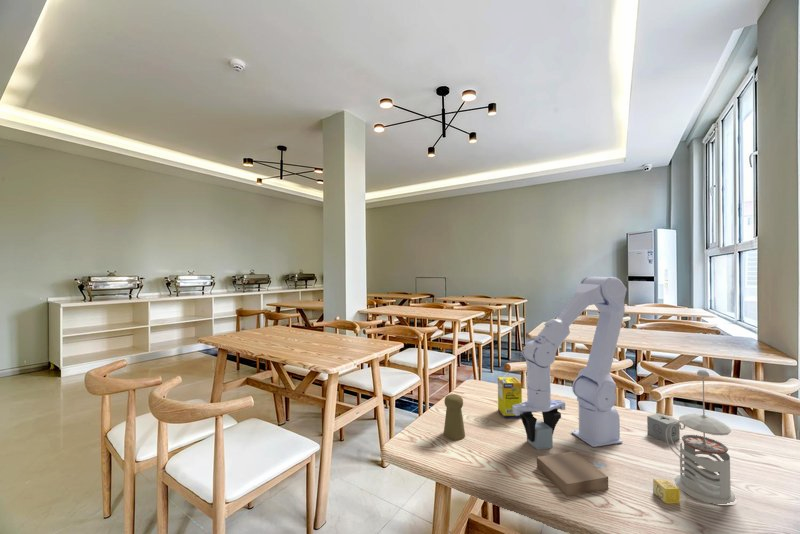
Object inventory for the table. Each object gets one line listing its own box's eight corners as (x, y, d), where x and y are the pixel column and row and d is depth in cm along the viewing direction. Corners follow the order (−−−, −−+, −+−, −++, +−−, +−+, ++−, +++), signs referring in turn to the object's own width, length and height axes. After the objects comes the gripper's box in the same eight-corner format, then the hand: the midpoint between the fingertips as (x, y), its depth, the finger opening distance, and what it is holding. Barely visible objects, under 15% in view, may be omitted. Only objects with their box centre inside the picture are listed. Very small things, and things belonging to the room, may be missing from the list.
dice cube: (679, 439, 90) (679, 420, 90) (667, 442, 88) (667, 424, 88) (659, 430, 94) (659, 413, 94) (647, 434, 93) (647, 416, 93)
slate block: (541, 439, 91) (541, 420, 91) (552, 447, 86) (552, 428, 86) (526, 441, 90) (526, 422, 90) (537, 450, 86) (536, 430, 85)
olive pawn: (441, 438, 92) (440, 398, 92) (446, 428, 98) (445, 390, 98) (462, 442, 90) (462, 401, 90) (467, 431, 95) (466, 393, 95)
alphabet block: (667, 492, 69) (667, 478, 69) (680, 503, 66) (680, 488, 66) (652, 493, 69) (652, 478, 69) (665, 504, 66) (665, 488, 66)
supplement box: (522, 418, 103) (522, 382, 103) (503, 418, 103) (502, 383, 103) (516, 409, 109) (515, 376, 109) (497, 410, 109) (497, 376, 109)
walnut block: (573, 463, 80) (573, 451, 80) (608, 491, 70) (608, 476, 70) (537, 469, 78) (536, 456, 78) (567, 498, 68) (567, 484, 68)
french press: (722, 512, 63) (720, 380, 63) (655, 477, 74) (653, 364, 74) (748, 497, 67) (746, 373, 67) (680, 466, 78) (679, 359, 78)
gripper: (552, 379, 94) (553, 428, 94) (505, 384, 90) (506, 434, 91) (570, 388, 87) (571, 440, 87) (520, 394, 84) (521, 448, 84)
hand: (539, 438), depth 88 cm, fingers open, 5 cm apart
